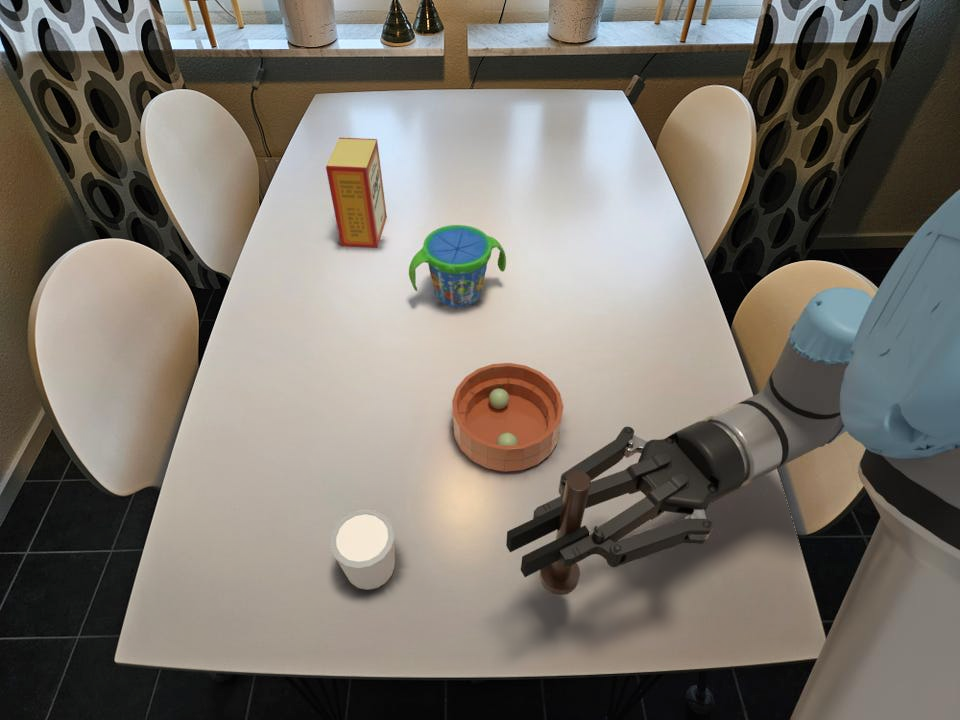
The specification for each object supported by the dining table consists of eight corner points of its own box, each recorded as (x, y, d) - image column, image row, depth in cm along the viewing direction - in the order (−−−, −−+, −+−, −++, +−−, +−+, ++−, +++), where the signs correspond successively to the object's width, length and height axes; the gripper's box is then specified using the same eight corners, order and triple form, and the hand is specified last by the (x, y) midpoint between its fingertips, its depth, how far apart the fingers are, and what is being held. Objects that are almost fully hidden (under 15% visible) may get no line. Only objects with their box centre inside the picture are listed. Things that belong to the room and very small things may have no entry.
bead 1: (502, 415, 88) (503, 403, 86) (484, 407, 89) (485, 394, 87) (512, 402, 90) (513, 389, 88) (495, 394, 91) (495, 381, 89)
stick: (568, 602, 64) (591, 510, 51) (532, 582, 66) (546, 488, 53) (584, 569, 67) (610, 473, 54) (550, 551, 68) (567, 453, 55)
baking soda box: (352, 215, 121) (338, 135, 109) (386, 216, 121) (376, 137, 109) (341, 246, 115) (325, 165, 103) (377, 247, 114) (365, 166, 103)
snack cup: (496, 267, 111) (498, 217, 103) (513, 308, 104) (515, 257, 96) (406, 281, 108) (401, 231, 101) (417, 323, 101) (412, 273, 94)
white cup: (375, 527, 77) (367, 497, 72) (412, 566, 74) (407, 537, 69) (328, 565, 74) (316, 536, 69) (365, 607, 71) (355, 580, 66)
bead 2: (511, 462, 83) (511, 449, 81) (492, 453, 84) (492, 440, 82) (521, 446, 85) (522, 434, 83) (502, 437, 86) (503, 425, 84)
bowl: (528, 491, 81) (530, 467, 77) (433, 444, 86) (431, 419, 82) (576, 414, 89) (580, 388, 85) (487, 375, 94) (487, 349, 90)
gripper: (762, 532, 63) (557, 647, 55) (664, 423, 72) (477, 509, 65) (789, 491, 57) (565, 612, 50) (680, 378, 67) (477, 467, 59)
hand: (516, 554), depth 57 cm, fingers closed on stick, 2 cm apart
